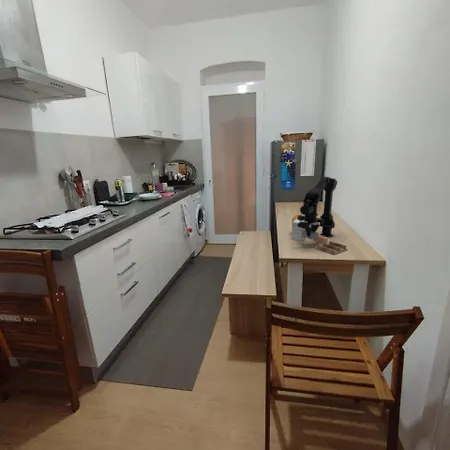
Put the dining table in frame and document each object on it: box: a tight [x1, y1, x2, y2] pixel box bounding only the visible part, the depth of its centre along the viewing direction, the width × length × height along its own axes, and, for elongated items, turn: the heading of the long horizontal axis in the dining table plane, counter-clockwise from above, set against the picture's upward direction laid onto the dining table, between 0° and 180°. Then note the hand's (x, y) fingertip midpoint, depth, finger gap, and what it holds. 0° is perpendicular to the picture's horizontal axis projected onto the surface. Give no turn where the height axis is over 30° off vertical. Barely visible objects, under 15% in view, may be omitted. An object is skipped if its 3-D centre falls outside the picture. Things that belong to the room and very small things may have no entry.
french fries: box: [291, 213, 300, 223], centre depth 184 cm, size 9×8×15 cm
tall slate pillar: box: [303, 230, 320, 241], centre depth 162 cm, size 9×4×4 cm, turn 34°
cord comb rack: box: [315, 240, 349, 256], centre depth 155 cm, size 13×13×2 cm
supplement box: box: [291, 219, 307, 242], centre depth 175 cm, size 7×7×13 cm
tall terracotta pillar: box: [312, 234, 329, 245], centre depth 169 cm, size 9×4×4 cm, turn 27°
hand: (310, 236), depth 162 cm, fingers closed on tall slate pillar, 3 cm apart
